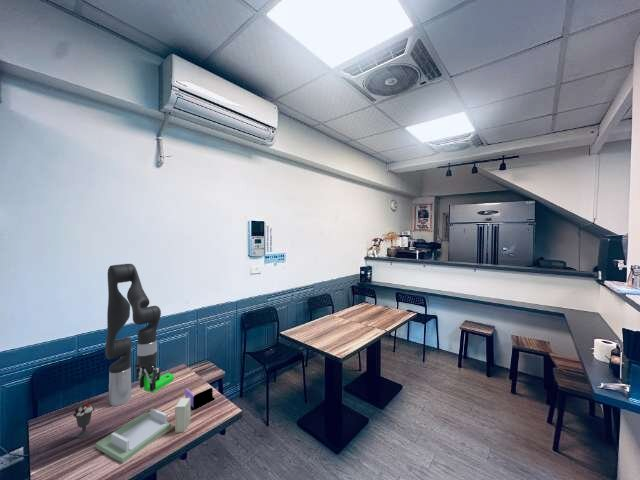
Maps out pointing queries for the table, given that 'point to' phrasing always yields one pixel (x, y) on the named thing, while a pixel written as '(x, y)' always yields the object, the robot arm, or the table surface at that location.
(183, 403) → the skincare box
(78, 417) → the sundae
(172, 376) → the mechanical part
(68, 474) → the table surface
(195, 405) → the miniature room corner
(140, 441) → the pale green fixture
